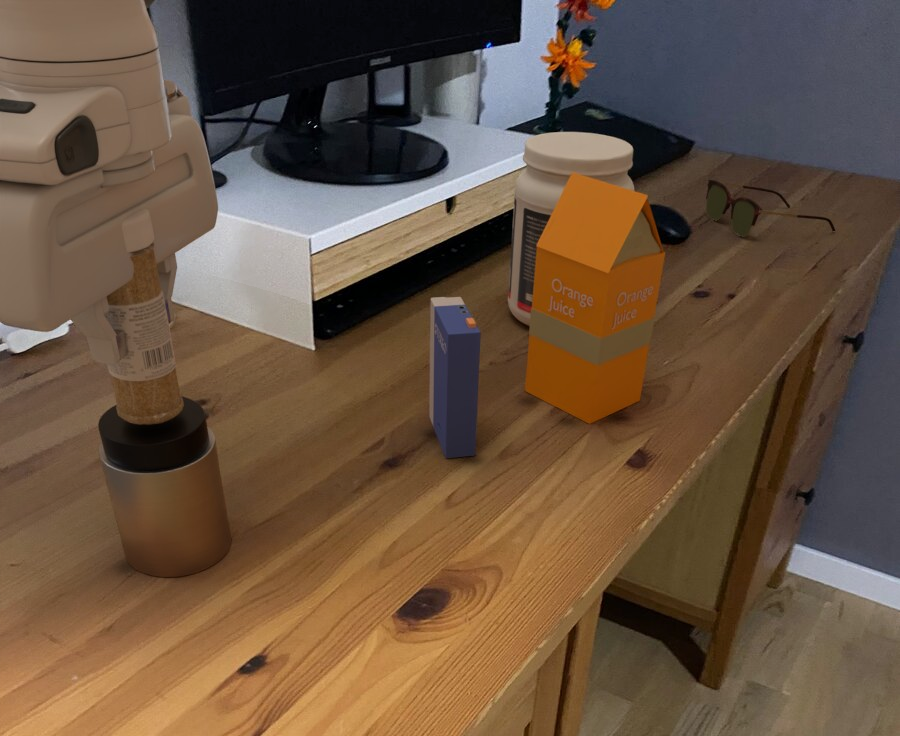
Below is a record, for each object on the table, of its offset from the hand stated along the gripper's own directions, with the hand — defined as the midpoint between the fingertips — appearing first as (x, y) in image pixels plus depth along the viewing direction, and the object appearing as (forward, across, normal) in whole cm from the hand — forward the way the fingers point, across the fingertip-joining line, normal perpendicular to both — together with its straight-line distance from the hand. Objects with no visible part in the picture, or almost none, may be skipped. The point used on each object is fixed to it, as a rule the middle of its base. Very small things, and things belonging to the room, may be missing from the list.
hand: (135, 342), depth 60 cm
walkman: (+17, -23, +15) cm, 32 cm away
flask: (+17, 0, 0) cm, 17 cm away
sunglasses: (+17, -98, +41) cm, 108 cm away
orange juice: (+17, -35, +25) cm, 46 cm away
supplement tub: (+17, -54, +19) cm, 60 cm away
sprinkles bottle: (+5, 0, 0) cm, 5 cm away
